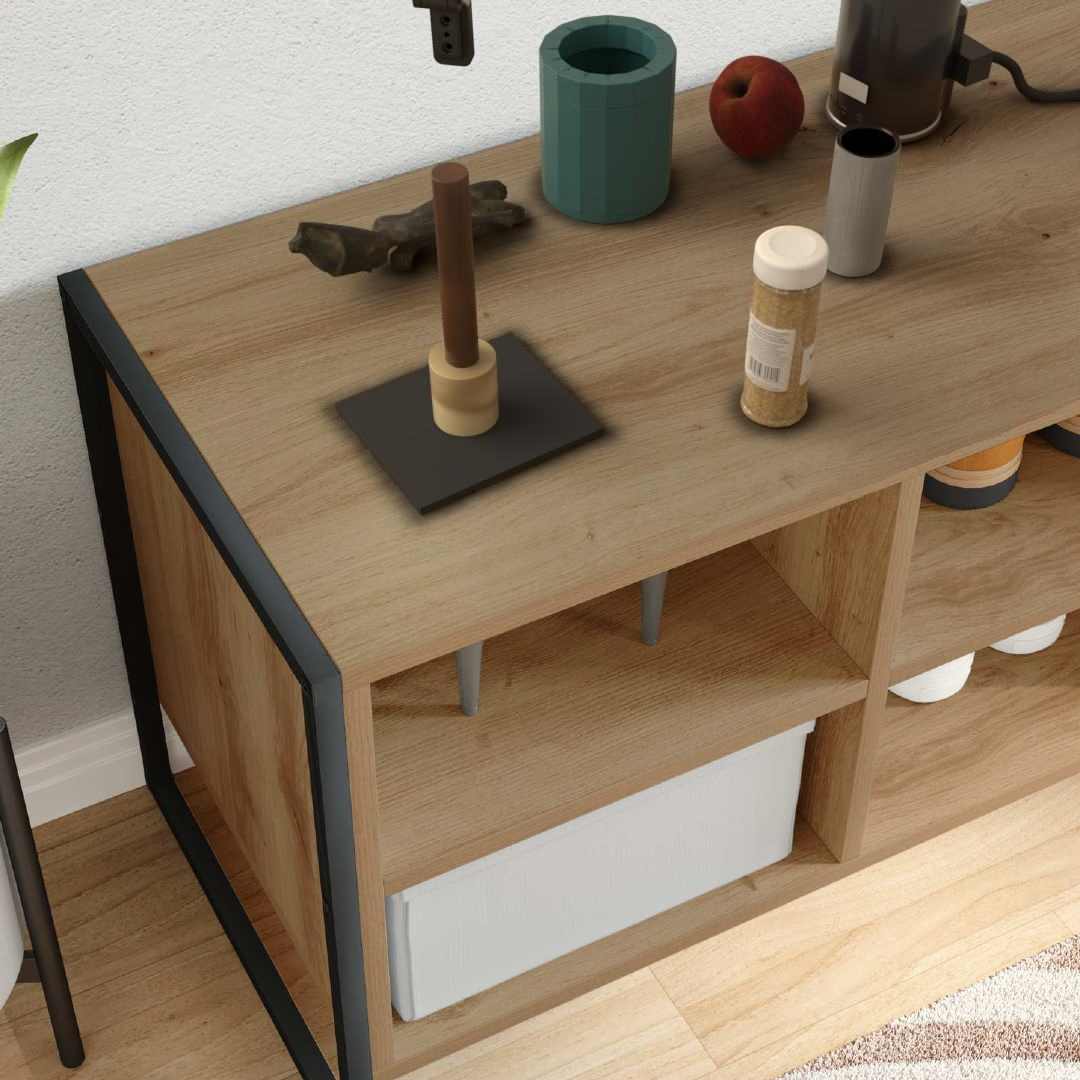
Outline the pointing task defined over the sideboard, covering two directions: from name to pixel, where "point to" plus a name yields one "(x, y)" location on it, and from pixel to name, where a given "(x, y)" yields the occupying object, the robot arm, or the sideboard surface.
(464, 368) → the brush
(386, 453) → the mat
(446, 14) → the robot arm
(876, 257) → the grey hollow cylinder
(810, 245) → the spice bottle
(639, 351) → the sideboard surface
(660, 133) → the jar
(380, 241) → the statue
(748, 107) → the apple
